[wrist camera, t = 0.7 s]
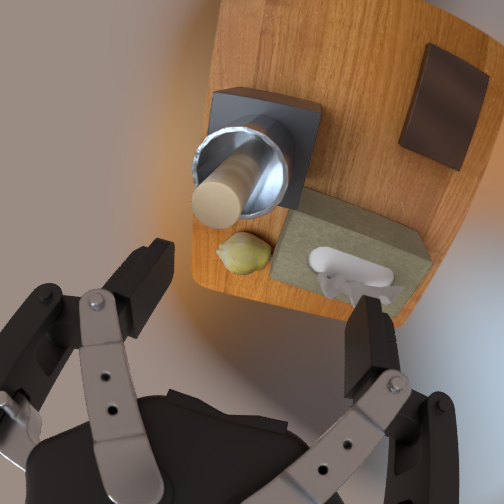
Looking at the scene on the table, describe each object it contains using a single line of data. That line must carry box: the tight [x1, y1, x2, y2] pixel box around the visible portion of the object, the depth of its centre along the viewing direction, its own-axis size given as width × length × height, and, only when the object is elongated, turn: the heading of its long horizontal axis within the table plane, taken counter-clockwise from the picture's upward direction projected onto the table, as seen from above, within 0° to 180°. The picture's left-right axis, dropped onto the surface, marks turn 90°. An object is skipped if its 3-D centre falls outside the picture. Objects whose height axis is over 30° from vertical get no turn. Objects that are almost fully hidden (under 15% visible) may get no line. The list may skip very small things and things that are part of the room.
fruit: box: [216, 232, 273, 275], centre depth 43 cm, size 6×6×10 cm
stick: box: [191, 137, 272, 229], centre depth 22 cm, size 3×3×12 cm
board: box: [398, 43, 490, 171], centre depth 28 cm, size 14×9×2 cm, turn 169°
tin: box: [192, 114, 296, 219], centre depth 25 cm, size 7×7×7 cm
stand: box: [207, 87, 322, 210], centre depth 31 cm, size 10×10×10 cm
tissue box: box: [269, 187, 433, 318], centre depth 35 cm, size 19×10×16 cm, turn 76°
